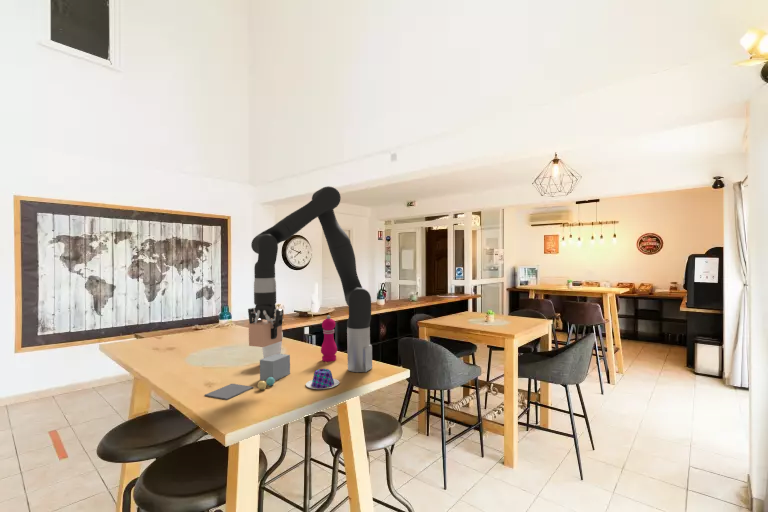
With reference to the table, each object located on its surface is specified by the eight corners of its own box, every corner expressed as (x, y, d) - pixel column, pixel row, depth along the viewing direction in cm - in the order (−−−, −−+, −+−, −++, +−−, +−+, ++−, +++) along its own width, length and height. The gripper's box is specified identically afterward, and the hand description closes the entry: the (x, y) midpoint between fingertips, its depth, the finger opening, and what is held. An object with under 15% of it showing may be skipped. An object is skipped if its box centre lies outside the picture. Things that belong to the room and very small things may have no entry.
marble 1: (268, 388, 132) (268, 380, 132) (262, 391, 130) (262, 382, 130) (261, 387, 134) (261, 379, 134) (255, 390, 131) (255, 381, 131)
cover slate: (290, 373, 149) (289, 354, 149) (273, 381, 140) (273, 361, 140) (277, 372, 152) (277, 353, 152) (260, 379, 142) (259, 359, 142)
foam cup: (276, 366, 160) (276, 335, 160) (256, 365, 161) (256, 335, 161) (286, 360, 169) (286, 331, 169) (267, 359, 171) (267, 330, 171)
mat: (253, 387, 133) (253, 386, 133) (227, 399, 122) (227, 398, 122) (231, 384, 137) (231, 383, 137) (204, 395, 126) (204, 394, 126)
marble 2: (276, 384, 137) (276, 376, 137) (271, 387, 134) (271, 378, 134) (270, 383, 138) (269, 375, 138) (264, 386, 135) (264, 378, 135)
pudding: (346, 384, 137) (346, 369, 137) (320, 393, 128) (319, 378, 128) (325, 377, 145) (324, 364, 145) (299, 386, 136) (298, 371, 136)
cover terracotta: (282, 340, 137) (281, 320, 137) (263, 347, 128) (262, 325, 128) (268, 339, 140) (268, 319, 140) (249, 345, 130) (248, 324, 130)
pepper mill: (340, 359, 170) (340, 314, 170) (330, 363, 164) (329, 316, 164) (328, 357, 174) (327, 313, 174) (317, 360, 168) (316, 315, 168)
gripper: (288, 290, 134) (289, 337, 134) (256, 289, 140) (257, 334, 140) (274, 292, 128) (275, 341, 128) (241, 291, 133) (242, 338, 133)
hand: (265, 337), depth 134 cm, fingers closed on cover terracotta, 6 cm apart
